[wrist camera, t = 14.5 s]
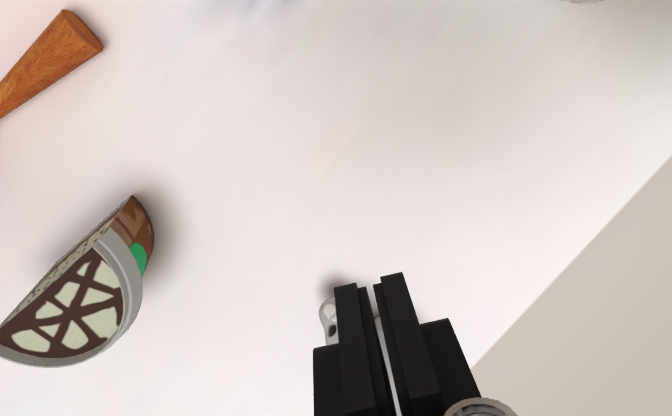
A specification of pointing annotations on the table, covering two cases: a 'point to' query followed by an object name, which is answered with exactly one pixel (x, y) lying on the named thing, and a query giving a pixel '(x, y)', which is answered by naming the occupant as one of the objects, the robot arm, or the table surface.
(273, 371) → the table surface
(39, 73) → the kendama
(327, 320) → the chubby cartoon animal
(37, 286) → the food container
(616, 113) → the table surface
